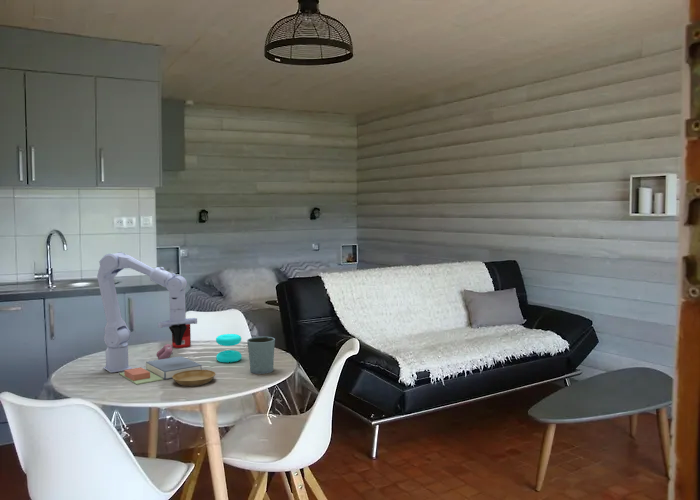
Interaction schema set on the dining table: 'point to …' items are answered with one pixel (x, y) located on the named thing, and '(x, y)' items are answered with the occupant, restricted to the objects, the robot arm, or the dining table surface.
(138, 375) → the card box
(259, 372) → the grey plant pot
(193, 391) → the dining table surface
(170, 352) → the pink rounded piece
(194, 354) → the dining table surface
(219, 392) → the dining table surface
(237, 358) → the donuts
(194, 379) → the plant saucer
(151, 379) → the felt mat
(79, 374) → the dining table surface
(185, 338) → the canned food
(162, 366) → the book deck
